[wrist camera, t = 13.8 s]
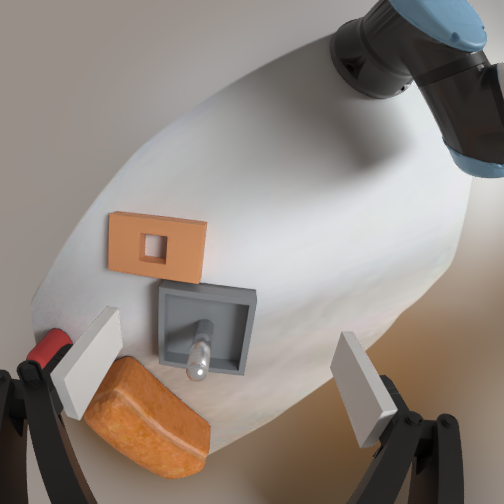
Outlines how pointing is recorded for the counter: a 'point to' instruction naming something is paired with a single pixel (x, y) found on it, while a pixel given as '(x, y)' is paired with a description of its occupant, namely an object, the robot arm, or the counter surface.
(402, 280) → the counter surface
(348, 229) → the counter surface
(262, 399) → the counter surface
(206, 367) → the pin
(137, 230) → the orange block with hole
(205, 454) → the bread
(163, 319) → the tray
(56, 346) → the beer can
